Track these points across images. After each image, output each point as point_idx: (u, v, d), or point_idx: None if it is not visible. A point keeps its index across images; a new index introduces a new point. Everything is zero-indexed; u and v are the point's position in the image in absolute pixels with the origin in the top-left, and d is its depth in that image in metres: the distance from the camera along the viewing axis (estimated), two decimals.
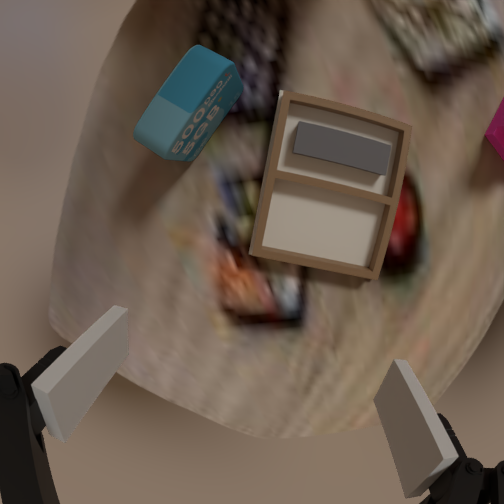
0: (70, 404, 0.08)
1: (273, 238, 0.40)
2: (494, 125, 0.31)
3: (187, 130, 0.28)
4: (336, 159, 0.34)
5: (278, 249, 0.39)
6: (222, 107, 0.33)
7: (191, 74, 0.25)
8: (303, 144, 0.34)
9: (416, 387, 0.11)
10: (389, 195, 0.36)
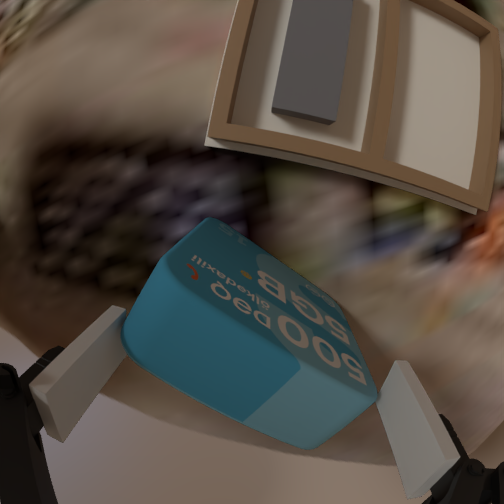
0: (68, 404, 0.08)
1: (460, 173, 0.19)
2: None
3: (326, 355, 0.13)
4: (342, 47, 0.15)
5: (475, 166, 0.18)
6: (254, 261, 0.18)
7: (196, 362, 0.11)
8: (319, 101, 0.16)
9: (417, 388, 0.11)
10: None
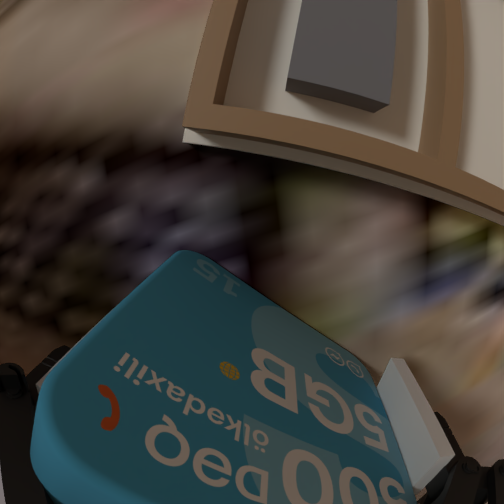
0: None
1: None
2: None
3: (359, 503, 0.06)
4: (390, 0, 0.08)
5: None
6: (248, 328, 0.11)
7: None
8: (363, 72, 0.09)
9: (413, 385, 0.11)
10: None
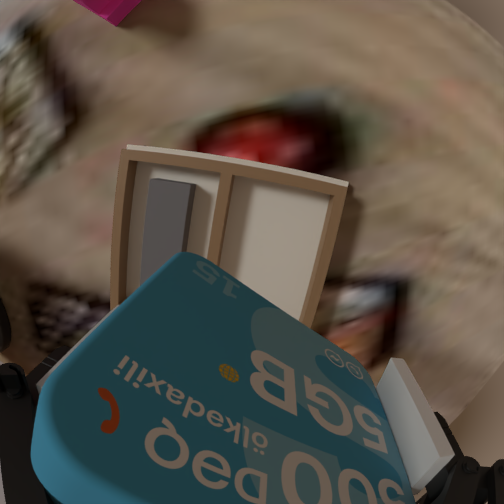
0: None
1: None
2: (100, 16, 0.23)
3: None
4: None
5: (299, 318, 0.30)
6: (248, 330, 0.11)
7: None
8: None
9: (413, 385, 0.11)
10: None
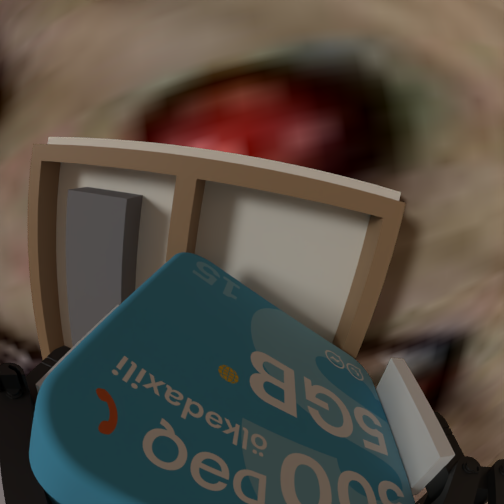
0: None
1: None
2: None
3: None
4: None
5: None
6: (248, 331, 0.11)
7: None
8: None
9: (413, 385, 0.11)
10: None
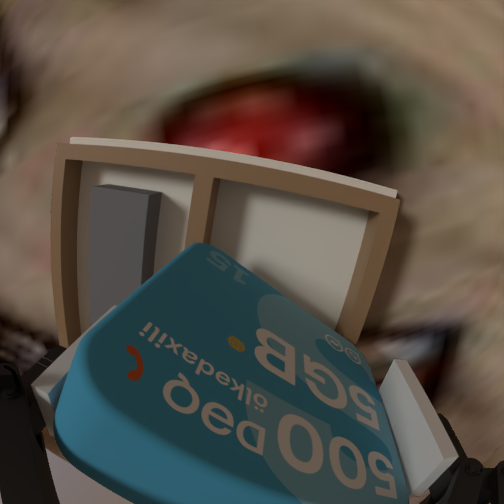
0: None
1: None
2: None
3: (347, 469, 0.07)
4: None
5: None
6: (254, 311, 0.13)
7: (146, 488, 0.06)
8: None
9: (416, 387, 0.11)
10: None
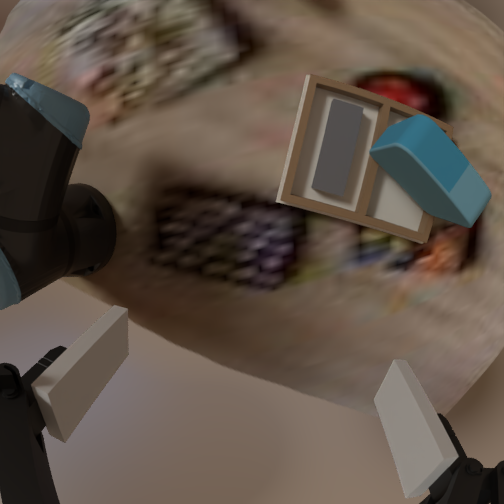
0: (70, 404, 0.08)
1: (413, 220, 0.38)
2: None
3: None
4: (350, 155, 0.35)
5: (422, 217, 0.37)
6: None
7: (436, 154, 0.23)
8: (336, 186, 0.36)
9: (416, 387, 0.11)
10: (379, 105, 0.34)
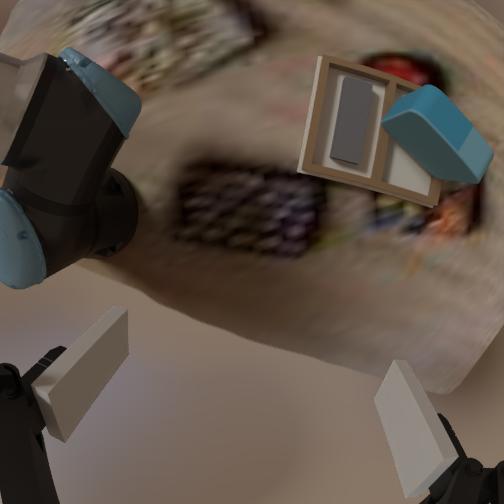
0: (70, 404, 0.08)
1: (422, 186, 0.39)
2: None
3: None
4: (364, 126, 0.36)
5: (431, 182, 0.39)
6: None
7: (445, 118, 0.24)
8: (352, 154, 0.37)
9: (416, 387, 0.11)
10: (386, 82, 0.35)
